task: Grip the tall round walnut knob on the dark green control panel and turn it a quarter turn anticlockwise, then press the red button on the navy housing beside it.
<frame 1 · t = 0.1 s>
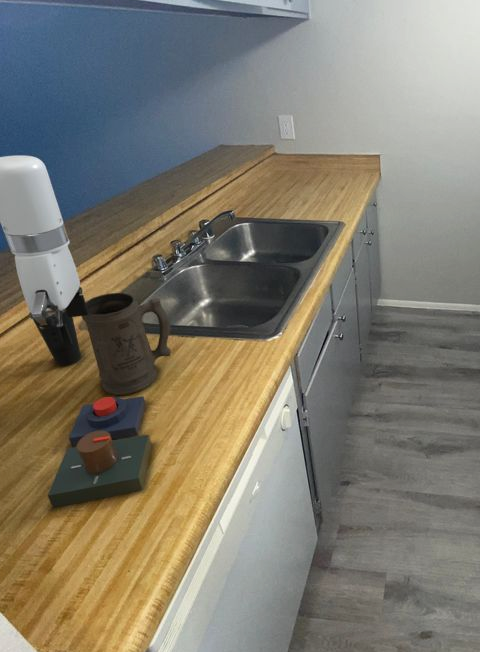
hand: (70, 330, 81), 22 cm above the worktop, tool pointing down, fingers open, 9 cm apart
knob: (97, 451, 79), point 6 cm above the worktop, hinge at 0.0°
panel: (106, 474, 82), on the worktop
drinking cup: (69, 360, 110), on the worktop
button: (105, 406, 90), point 4 cm above the worktop, slide at 0.1 cm
beer stein: (142, 375, 106), on the worktop
button box: (111, 424, 92), on the worktop
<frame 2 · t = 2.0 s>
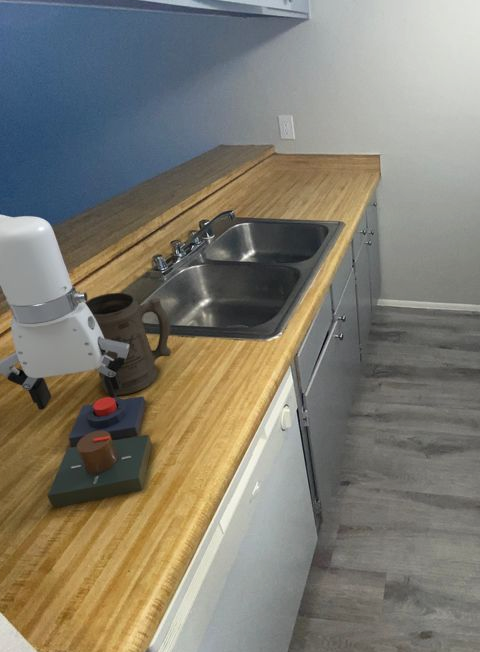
hand: (81, 397, 75), 17 cm above the worktop, tool pointing down, fingers open, 9 cm apart
nothing on the worktop moved.
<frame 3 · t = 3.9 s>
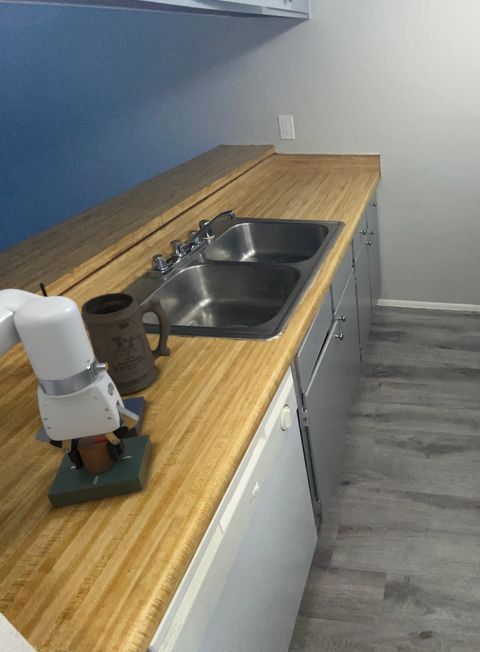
hand: (100, 458, 80), 4 cm above the worktop, tool pointing down, fingers closed on knob, 4 cm apart
knob: (97, 451, 79), point 6 cm above the worktop, hinge at 0.1°, touching gripper
everything else where it was.
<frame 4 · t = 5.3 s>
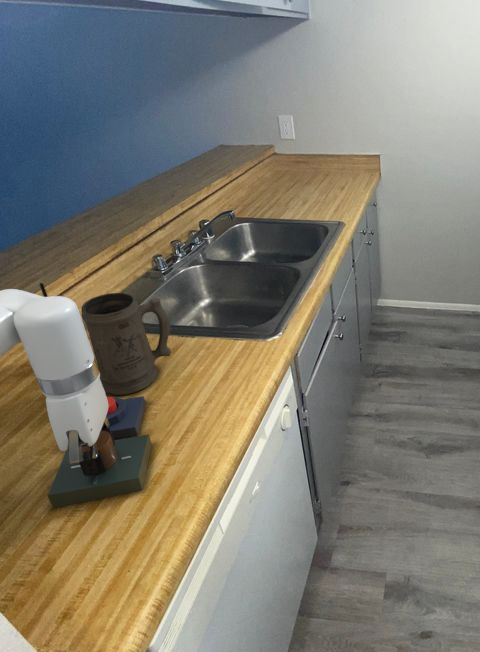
hand: (100, 458, 80), 4 cm above the worktop, tool pointing down, fingers closed on knob, 4 cm apart
knob: (97, 451, 79), point 6 cm above the worktop, hinge at 90.1°, touching gripper
everything else where it was.
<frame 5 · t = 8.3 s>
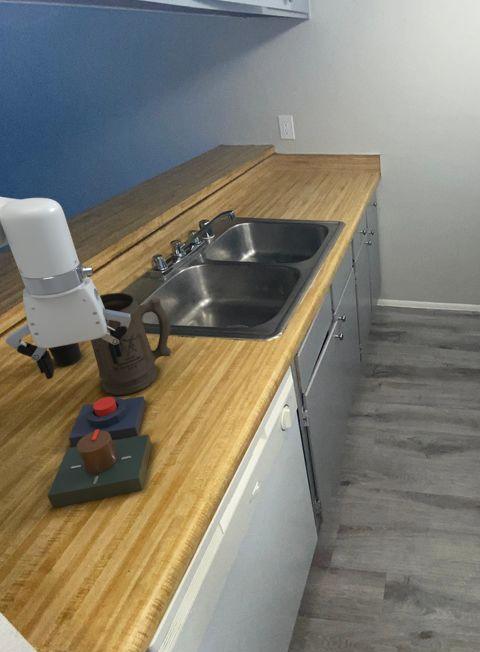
hand: (84, 366, 81), 17 cm above the worktop, tool pointing down, fingers open, 9 cm apart
knob: (97, 451, 79), point 6 cm above the worktop, hinge at 89.1°
everything else where it was.
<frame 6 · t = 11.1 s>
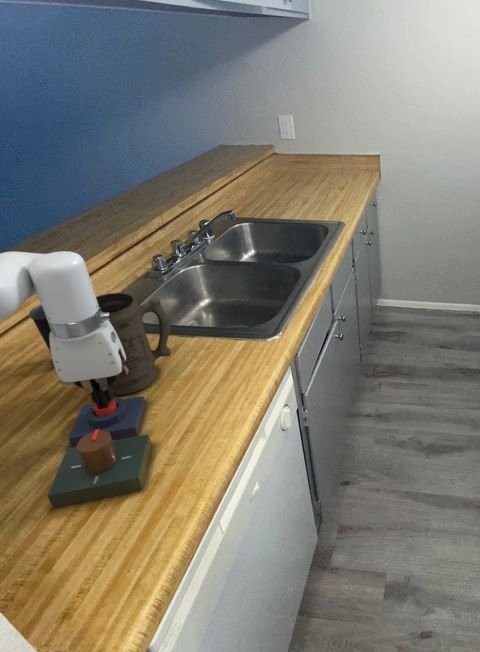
hand: (105, 403, 90), 5 cm above the worktop, tool pointing down, fingers closed
button: (105, 407, 90), point 4 cm above the worktop, slide at 0.0 cm, touching gripper
everything else where it was.
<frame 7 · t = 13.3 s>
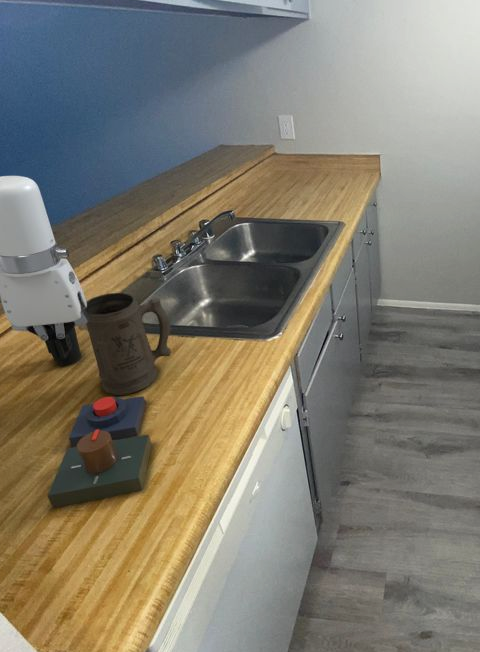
hand: (62, 354, 81), 19 cm above the worktop, tool pointing down, fingers closed
button: (105, 406, 90), point 4 cm above the worktop, slide at 0.1 cm
everything else where it was.
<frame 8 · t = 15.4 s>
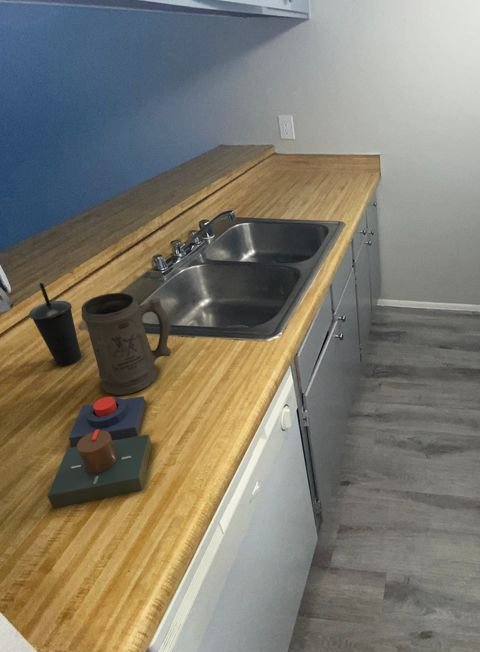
nothing on the worktop moved.
at the end: knob at +89° (first picture: +0°); button pushed in 1.1 cm at the most during the clip, back to where it started at the end; button slide at 0.1 cm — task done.
